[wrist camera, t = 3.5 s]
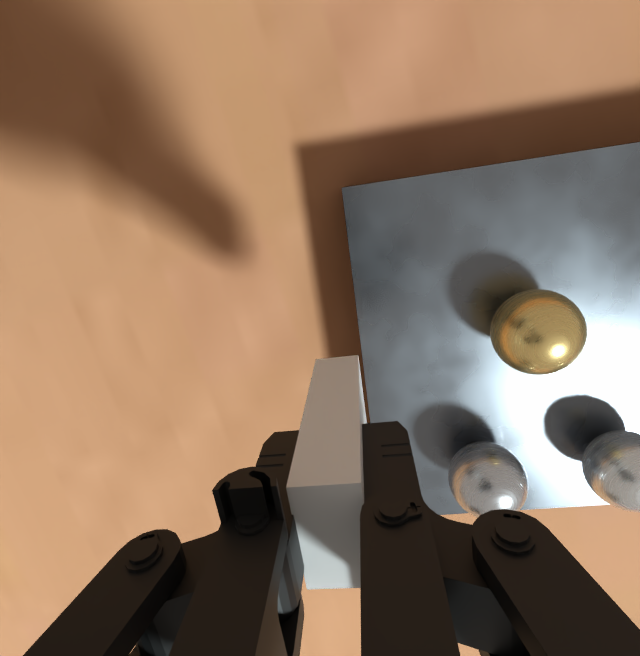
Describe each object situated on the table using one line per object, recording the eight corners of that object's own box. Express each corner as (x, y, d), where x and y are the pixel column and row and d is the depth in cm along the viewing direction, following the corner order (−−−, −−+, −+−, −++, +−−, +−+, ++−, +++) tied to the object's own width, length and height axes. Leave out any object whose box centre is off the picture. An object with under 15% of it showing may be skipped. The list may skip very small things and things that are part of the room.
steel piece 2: (569, 419, 19) (612, 465, 16) (646, 412, 19) (707, 459, 16) (566, 478, 20) (606, 533, 17) (639, 473, 20) (694, 528, 17)
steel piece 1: (439, 430, 20) (456, 476, 17) (512, 424, 20) (543, 470, 16) (443, 486, 21) (459, 540, 18) (511, 482, 21) (541, 536, 17)
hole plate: (342, 187, 19) (341, 187, 17) (926, 97, 17) (1042, 80, 14) (378, 480, 25) (382, 518, 22) (823, 448, 22) (893, 487, 19)
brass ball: (478, 286, 18) (507, 308, 14) (562, 276, 17) (611, 296, 14) (480, 358, 19) (507, 394, 15) (558, 350, 18) (603, 385, 15)
